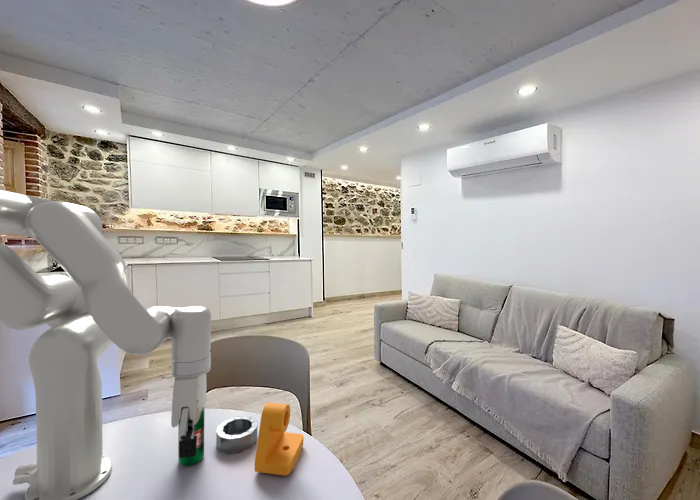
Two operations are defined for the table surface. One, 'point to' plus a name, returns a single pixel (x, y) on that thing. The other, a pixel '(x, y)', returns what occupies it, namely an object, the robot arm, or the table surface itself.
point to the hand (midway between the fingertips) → (191, 446)
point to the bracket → (277, 441)
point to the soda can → (200, 442)
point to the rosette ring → (236, 442)
